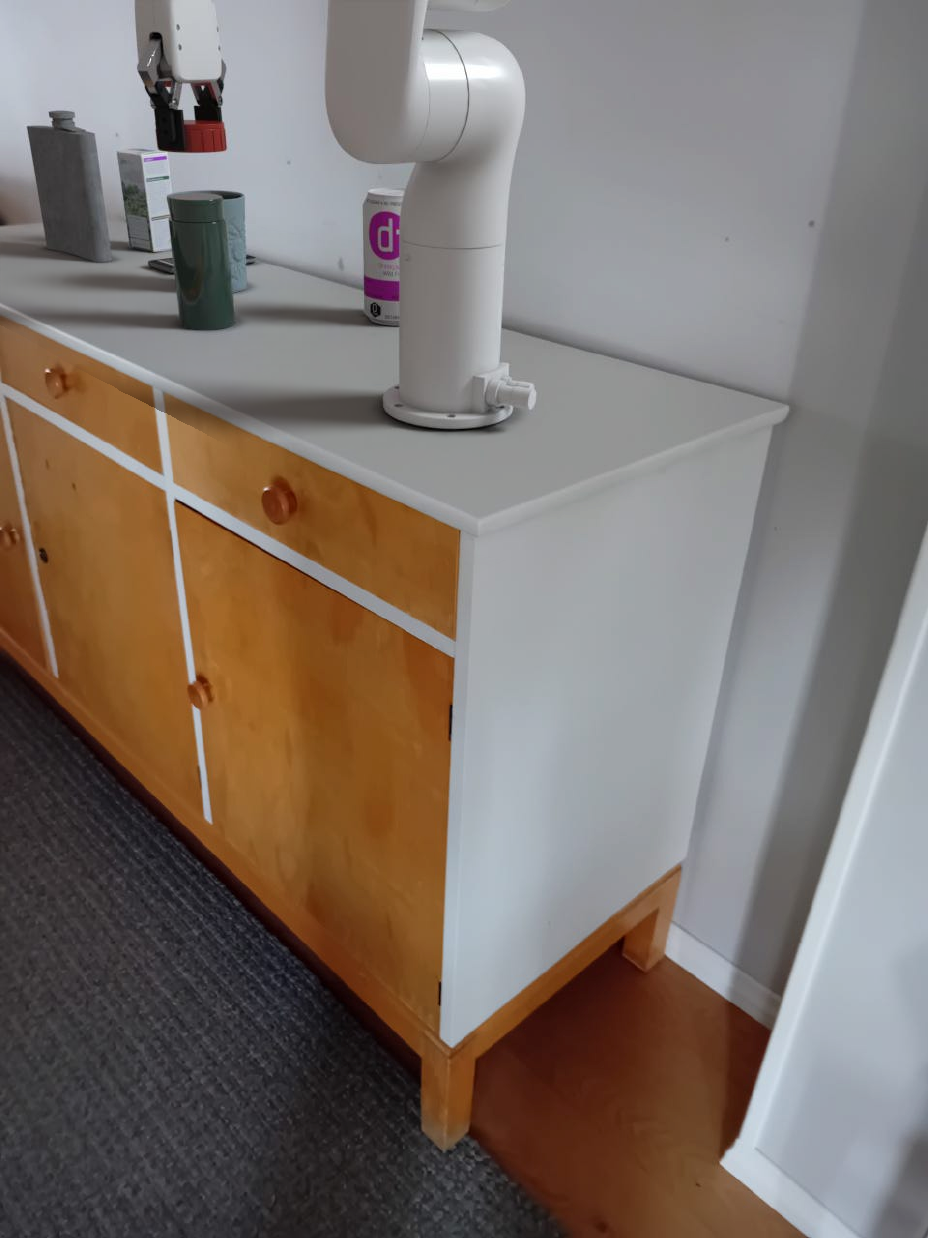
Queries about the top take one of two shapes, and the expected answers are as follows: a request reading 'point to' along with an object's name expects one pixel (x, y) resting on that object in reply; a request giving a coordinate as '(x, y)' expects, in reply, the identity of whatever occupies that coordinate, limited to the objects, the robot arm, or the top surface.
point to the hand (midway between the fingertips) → (192, 146)
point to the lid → (203, 136)
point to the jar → (201, 261)
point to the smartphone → (169, 267)
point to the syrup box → (146, 197)
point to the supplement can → (382, 254)
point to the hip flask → (70, 188)
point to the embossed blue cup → (232, 233)
